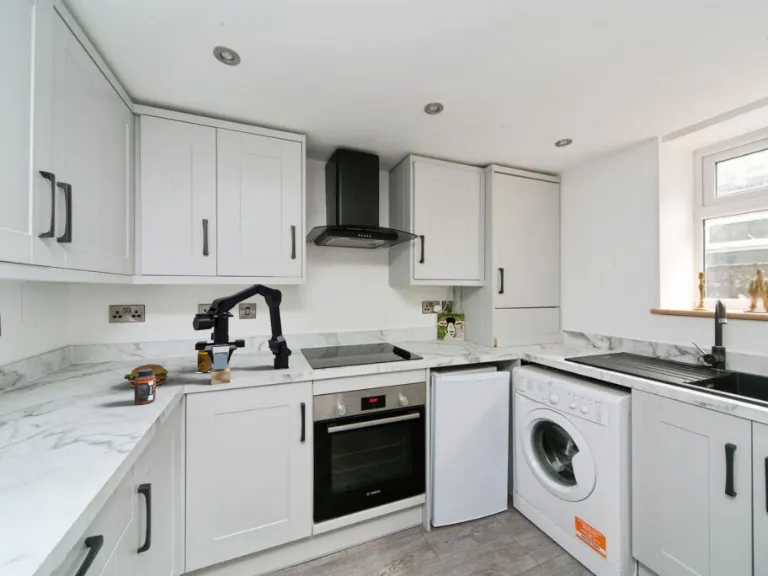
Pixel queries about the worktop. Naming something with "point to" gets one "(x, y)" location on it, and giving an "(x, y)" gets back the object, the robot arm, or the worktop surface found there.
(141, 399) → the supplement bottle
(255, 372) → the worktop surface
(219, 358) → the blue block
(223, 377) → the tan block
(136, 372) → the food
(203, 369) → the condiment
